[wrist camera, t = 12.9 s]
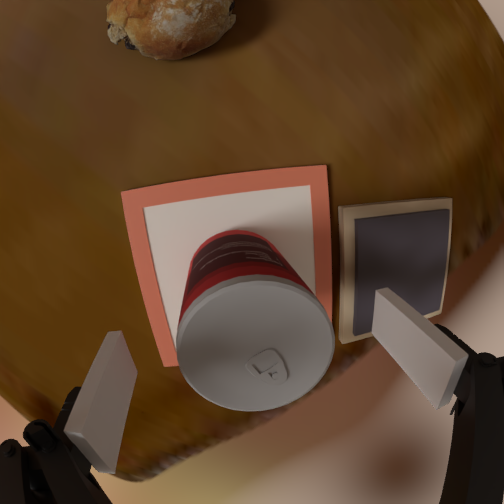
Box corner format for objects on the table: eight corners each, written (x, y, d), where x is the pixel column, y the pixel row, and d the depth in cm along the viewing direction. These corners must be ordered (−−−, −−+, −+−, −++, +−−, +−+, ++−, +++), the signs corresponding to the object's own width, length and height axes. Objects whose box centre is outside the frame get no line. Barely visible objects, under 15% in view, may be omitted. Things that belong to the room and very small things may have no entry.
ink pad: (338, 206, 23) (346, 208, 22) (445, 196, 25) (456, 199, 23) (338, 338, 27) (345, 347, 26) (435, 309, 28) (444, 315, 27)
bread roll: (212, 74, 22) (265, 42, 16) (97, 74, 17) (110, 27, 11) (211, -7, 20) (257, -48, 13) (108, -15, 14) (130, -70, 8)
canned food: (244, 333, 25) (266, 428, 15) (169, 281, 23) (142, 366, 12) (304, 268, 24) (366, 338, 14) (229, 206, 22) (247, 242, 11)
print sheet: (122, 191, 21) (121, 191, 20) (324, 164, 22) (326, 164, 22) (164, 363, 25) (164, 366, 25) (329, 336, 27) (331, 339, 26)
